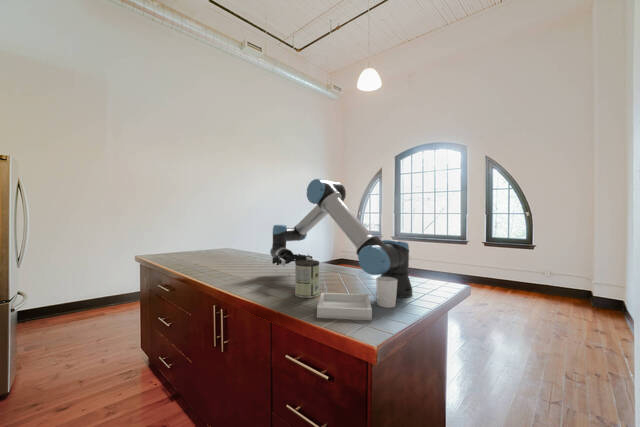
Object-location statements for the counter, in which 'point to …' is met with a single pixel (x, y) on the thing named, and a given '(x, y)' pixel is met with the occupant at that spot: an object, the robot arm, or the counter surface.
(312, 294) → the coffee can
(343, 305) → the tray
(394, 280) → the white cup
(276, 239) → the robot arm
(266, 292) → the counter surface
